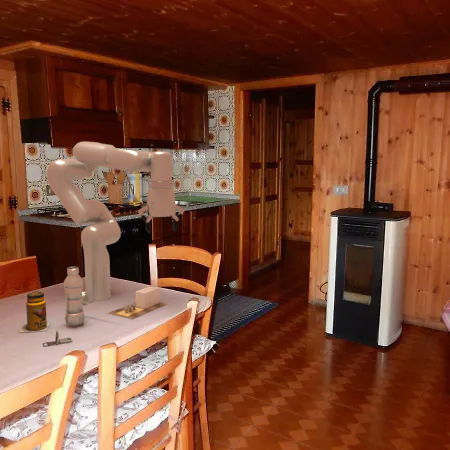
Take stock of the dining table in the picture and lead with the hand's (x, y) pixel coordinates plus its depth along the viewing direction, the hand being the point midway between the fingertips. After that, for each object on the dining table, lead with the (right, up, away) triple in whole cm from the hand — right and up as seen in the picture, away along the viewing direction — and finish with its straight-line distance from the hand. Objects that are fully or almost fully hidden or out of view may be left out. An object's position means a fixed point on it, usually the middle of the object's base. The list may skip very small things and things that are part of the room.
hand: (161, 232), depth 162 cm
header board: (-9, -30, +2) cm, 31 cm away
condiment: (-41, -32, -15) cm, 54 cm away
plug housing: (-6, -28, +6) cm, 29 cm away
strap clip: (-28, -34, -27) cm, 52 cm away
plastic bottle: (-28, -32, -11) cm, 44 cm away
